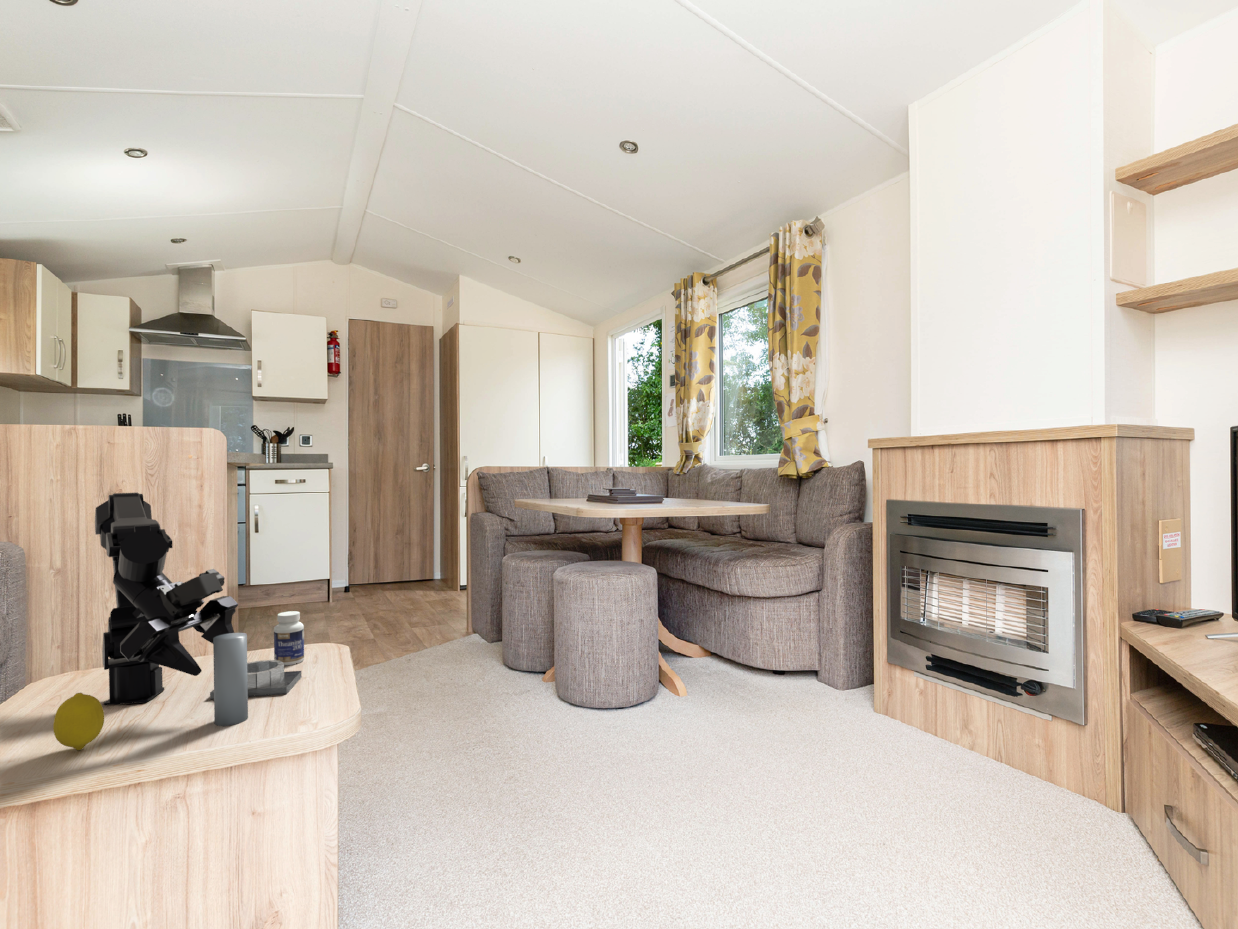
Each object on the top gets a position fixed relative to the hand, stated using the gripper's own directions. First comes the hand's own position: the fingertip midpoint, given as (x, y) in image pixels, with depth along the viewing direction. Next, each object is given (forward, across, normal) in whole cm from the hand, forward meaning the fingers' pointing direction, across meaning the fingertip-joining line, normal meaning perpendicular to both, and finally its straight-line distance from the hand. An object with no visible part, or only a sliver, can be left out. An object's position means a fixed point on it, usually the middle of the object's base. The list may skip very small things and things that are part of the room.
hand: (220, 664), depth 103 cm
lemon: (-3, -11, +16) cm, 19 cm away
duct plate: (+4, +14, +9) cm, 17 cm away
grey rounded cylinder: (+7, 0, +5) cm, 9 cm away
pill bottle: (+2, +29, +11) cm, 31 cm away
